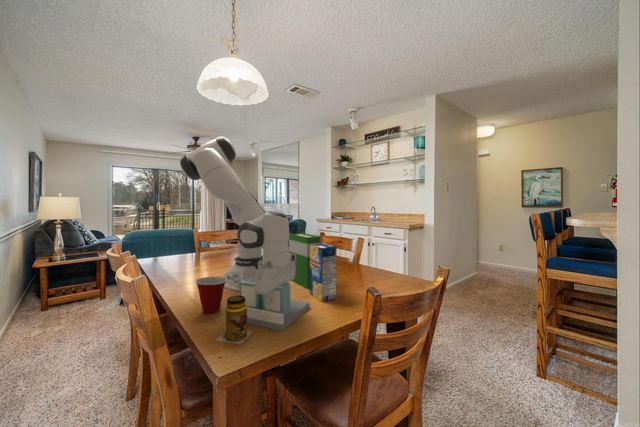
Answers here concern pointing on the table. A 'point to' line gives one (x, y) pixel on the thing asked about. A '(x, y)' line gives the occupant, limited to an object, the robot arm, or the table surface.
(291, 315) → the shelf board
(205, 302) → the plastic cup
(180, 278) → the table surface
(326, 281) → the beverage box
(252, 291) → the carton
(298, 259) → the hardback book
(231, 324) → the condiment
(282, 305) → the carton
